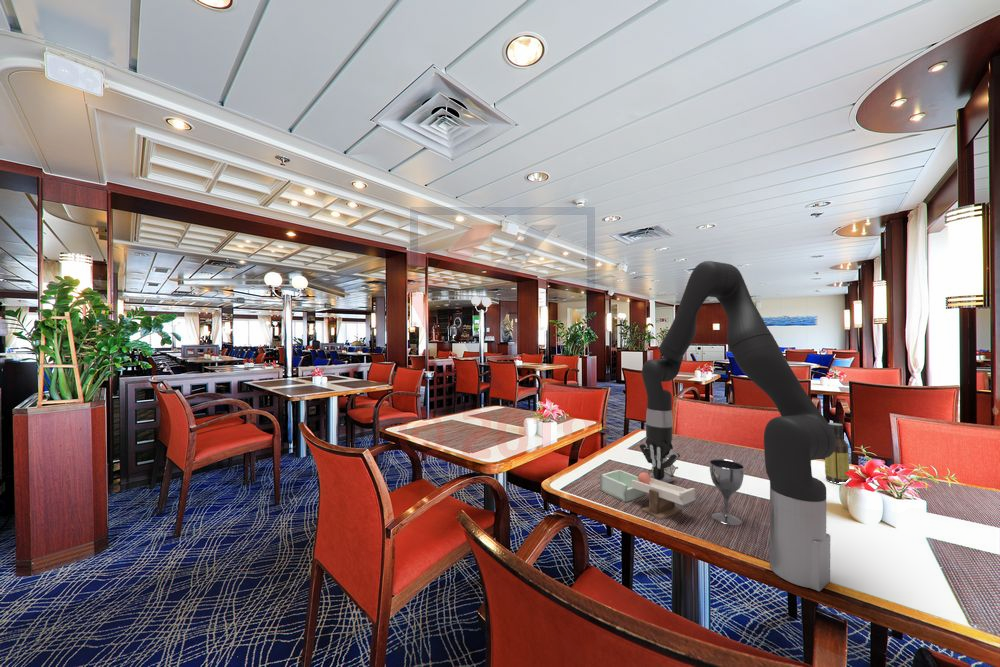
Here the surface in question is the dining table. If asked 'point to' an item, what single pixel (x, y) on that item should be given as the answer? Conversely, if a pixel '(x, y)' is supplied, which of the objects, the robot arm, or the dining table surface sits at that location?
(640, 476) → the ball
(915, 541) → the dining table surface
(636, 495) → the tray
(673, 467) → the grey geometric polyhedron
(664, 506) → the fulcrum
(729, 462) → the wine glass
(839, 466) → the sauce bottle
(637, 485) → the lever
